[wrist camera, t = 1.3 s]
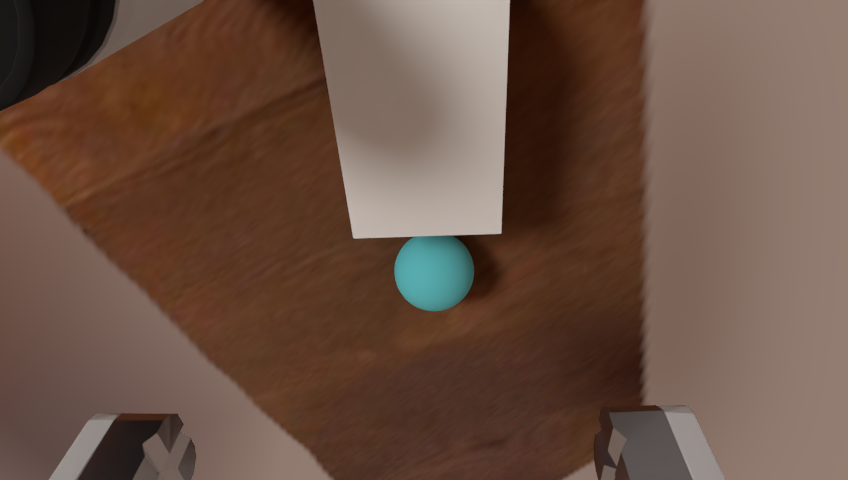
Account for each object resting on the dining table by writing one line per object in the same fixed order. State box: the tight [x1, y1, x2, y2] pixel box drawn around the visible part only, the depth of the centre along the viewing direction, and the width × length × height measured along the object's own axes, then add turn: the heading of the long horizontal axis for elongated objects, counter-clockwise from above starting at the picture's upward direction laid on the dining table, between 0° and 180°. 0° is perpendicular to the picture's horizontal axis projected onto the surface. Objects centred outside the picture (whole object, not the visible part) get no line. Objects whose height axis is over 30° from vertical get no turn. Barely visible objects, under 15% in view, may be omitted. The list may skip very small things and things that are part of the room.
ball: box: [395, 235, 474, 311], centre depth 33 cm, size 5×5×5 cm
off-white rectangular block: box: [313, 0, 510, 238], centre depth 24 cm, size 11×7×8 cm, turn 3°
